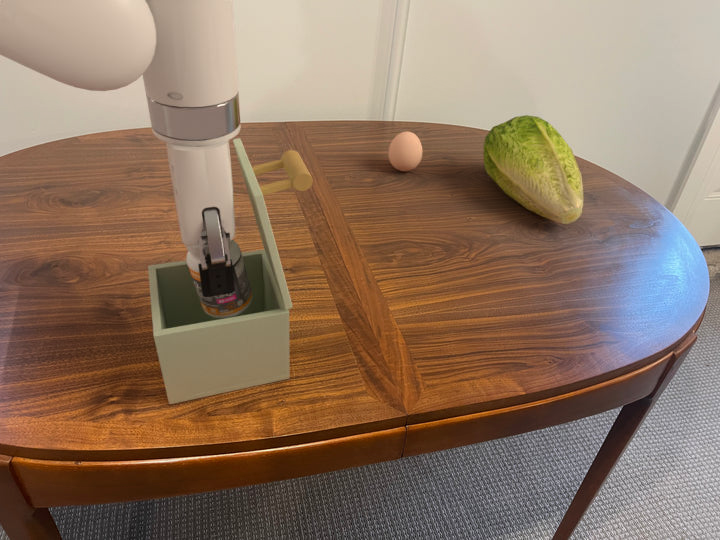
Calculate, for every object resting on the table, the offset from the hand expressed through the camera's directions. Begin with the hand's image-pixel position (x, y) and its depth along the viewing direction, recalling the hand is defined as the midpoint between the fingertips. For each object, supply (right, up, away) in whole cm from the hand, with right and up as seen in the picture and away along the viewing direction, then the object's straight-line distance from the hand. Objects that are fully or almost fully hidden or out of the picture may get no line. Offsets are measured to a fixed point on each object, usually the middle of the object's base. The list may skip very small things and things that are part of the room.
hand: (214, 272), depth 57 cm
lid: (+5, +5, -2) cm, 7 cm away
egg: (+24, +20, +50) cm, 59 cm away
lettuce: (+47, +13, +44) cm, 66 cm away
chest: (-1, -10, +8) cm, 13 cm away
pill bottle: (+1, -4, +3) cm, 5 cm away
